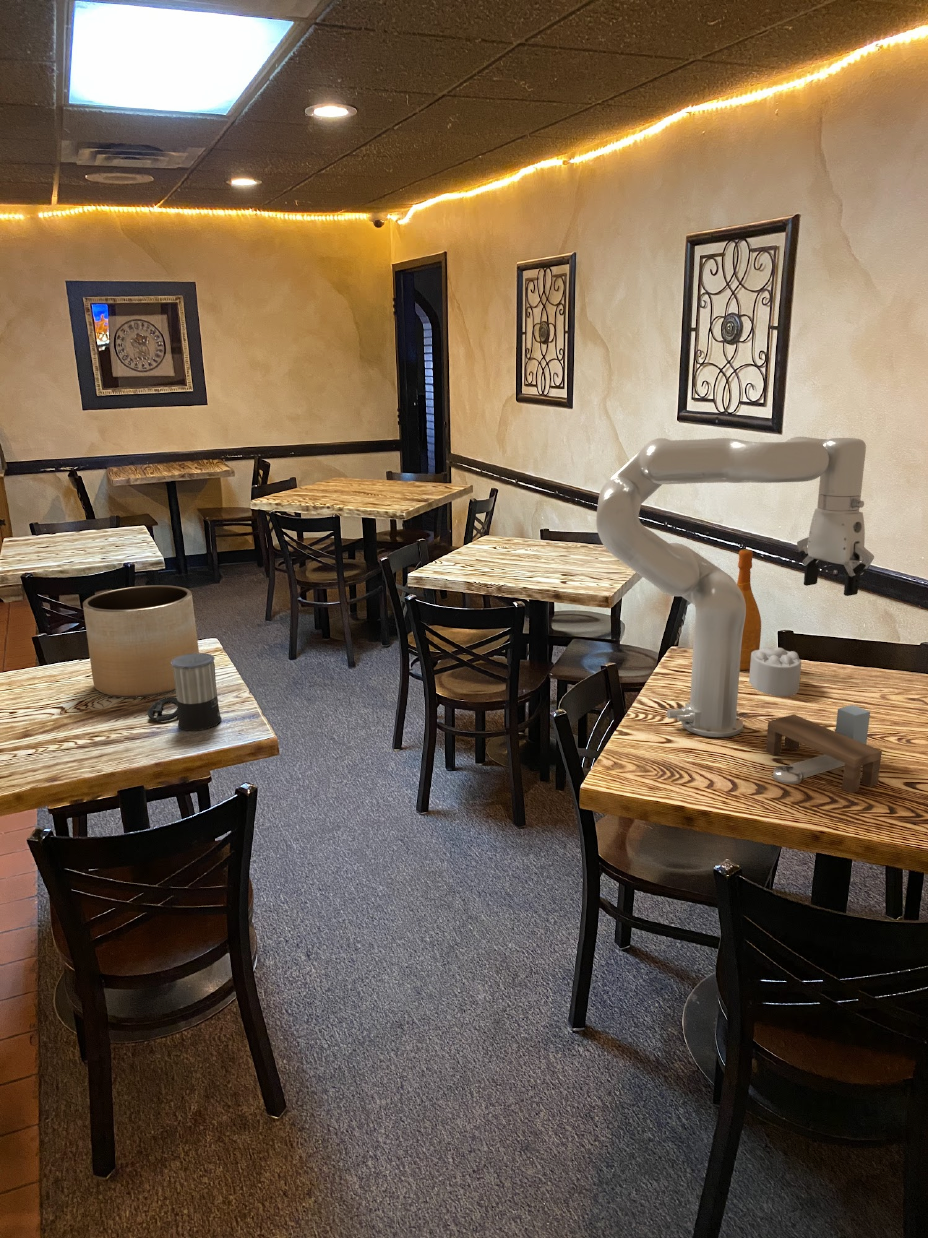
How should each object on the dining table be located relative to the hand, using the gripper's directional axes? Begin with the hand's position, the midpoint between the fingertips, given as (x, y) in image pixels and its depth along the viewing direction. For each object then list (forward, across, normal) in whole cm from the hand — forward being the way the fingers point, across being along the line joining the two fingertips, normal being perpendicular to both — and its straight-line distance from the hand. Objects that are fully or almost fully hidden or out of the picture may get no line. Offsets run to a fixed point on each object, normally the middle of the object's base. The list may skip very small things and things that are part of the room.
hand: (829, 589), depth 171 cm
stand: (+30, -12, +13) cm, 35 cm away
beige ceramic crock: (+31, +103, +118) cm, 159 cm away
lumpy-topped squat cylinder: (+31, +23, -13) cm, 40 cm away
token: (+31, -12, +22) cm, 39 cm away
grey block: (+30, -12, +11) cm, 35 cm away
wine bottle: (+31, +39, -16) cm, 52 cm away
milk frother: (+31, +72, +115) cm, 139 cm away
